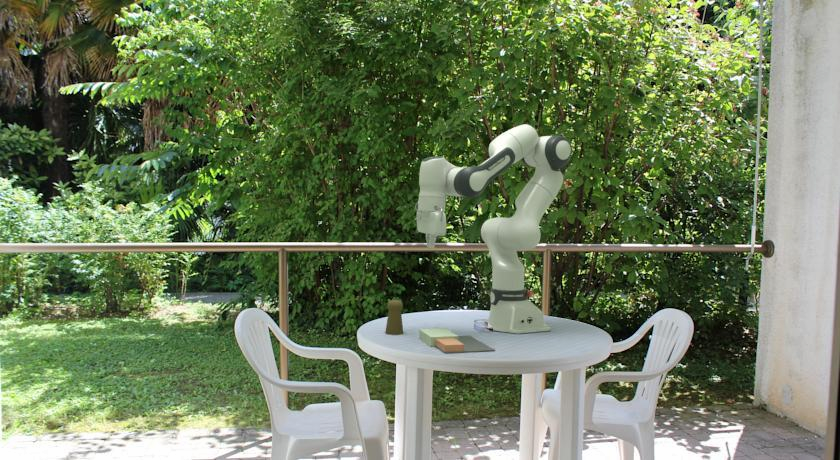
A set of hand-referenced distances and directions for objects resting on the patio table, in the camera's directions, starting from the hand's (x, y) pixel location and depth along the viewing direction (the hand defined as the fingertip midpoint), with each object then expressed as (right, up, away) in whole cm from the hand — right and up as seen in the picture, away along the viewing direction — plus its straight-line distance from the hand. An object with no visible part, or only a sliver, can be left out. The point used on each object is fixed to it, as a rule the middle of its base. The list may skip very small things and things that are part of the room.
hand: (430, 247), depth 236 cm
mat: (+9, -30, -11) cm, 33 cm away
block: (+5, -30, -18) cm, 35 cm away
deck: (+2, -30, -8) cm, 31 cm away
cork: (-12, -29, +5) cm, 32 cm away
